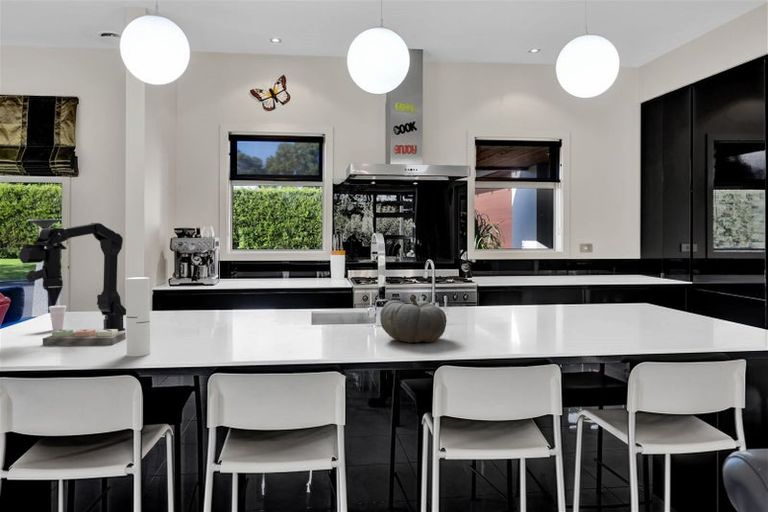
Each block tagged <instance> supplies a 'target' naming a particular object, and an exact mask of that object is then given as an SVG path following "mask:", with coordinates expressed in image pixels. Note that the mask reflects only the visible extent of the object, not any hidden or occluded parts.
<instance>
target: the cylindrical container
mask: <svg viewBox="0 0 768 512" xmlns="http://www.w3.org/2000/svg"><path fill="white" fill-rule="evenodd" d="M150 293H151V292H150V277H144V276H142V277H137V276H136V277H126V278H125V309H126V315H125V316H126V317H125V320H126V321H125V325H126V327H125V333H126V357H127V356H128V357H134V358H135V357H144V356H148V355H151V307H150V306H151V305H150V304H151V301H150V300H151V299H150Z"/></svg>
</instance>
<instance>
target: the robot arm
mask: <svg viewBox="0 0 768 512" xmlns="http://www.w3.org/2000/svg"><path fill="white" fill-rule="evenodd" d="M87 235H93V237H94V239H96V240H97V241H98V242H99V244H100V249H101V251H102V253H103V256H104V257H103V287H102V288H103V289H102V292H101V293H100V294H96V295H97V296H96V297H97V300H96V301H97V303H96V305H97V307H98V310H100V312H101V315H102V316H104V319H103V329H118V332H120V331H124V330H125V331H126V327H125V328H124V316H126V307H125V306H124V305H123V304H122V302H121V301H122V300H121V296H120V294H119V292H118V288H117V287H118V257H119V253H120V252H121V250H122V247H123V241H124V240H123V239H124V238H123V236H122V235H121V234H120V233H117V232H115V231H114V230H113V229H111V228H109V227H106V226H105V225H104V224H103V223H100V222H91V223H87V224H82V225H75V226H70V227H44V228H42V229H41V230H40V232H39V236H38V237H37V238H36V240H35V241H34V242H33V244H28V243H23V244H22V248H21V249H20V252H19V253H18V258H19V260H20V261H21V263H22V264H40V263H42V264H43V265H42V266H41V269H38V270H34V269H32V270H29V271H28V273H25V275H24V276H25V278H26V279H27V282H28V284H31V283H33V282H35V281H38V280H41V279H42V288H43V289H44V290H45V291H47V293H48V296H49V300H50V305H51V306H57V303H58V297H59V298H60V294H61V292H62V290H63V287H64V286H63V285H64V284H63V283H64V282H63V277H62V254H61V253H62V251H61V250H67V247H66V246H65V245H63V242H65V241H68V240H69V239H73V238H76V237H80V236H81V237H82V236H87Z"/></svg>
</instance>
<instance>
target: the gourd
mask: <svg viewBox="0 0 768 512" xmlns="http://www.w3.org/2000/svg"><path fill="white" fill-rule="evenodd" d="M410 300H411V301H412V303H404V302H403V301H399V300H396V299H395V300H394V299H393V300H389V301H387V302H386V303H384V305H383V306H382V308H381V309H380V313H379V314H380V316H379V317H380V318H379V320H380V323H381V327H382V329H383V330H384V332H385V333H386V334H387V335H388V336H389V337H390V338H392V339H394V340H397V341H402V342H404V343H405V342H407V343H420V342H425V343H430V342H434V341H437V340H438V339H440V338H441V337H442V336H443V334H444V333H445V331H446V327H447V316H446V313H445V311H443V309H441V308H439V307H437V306H436V305H435V304H432V303H430V302H428V301H426V300H425V301H424V300H419V301H416V298H415V296H414V295H411V296H410Z"/></svg>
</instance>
